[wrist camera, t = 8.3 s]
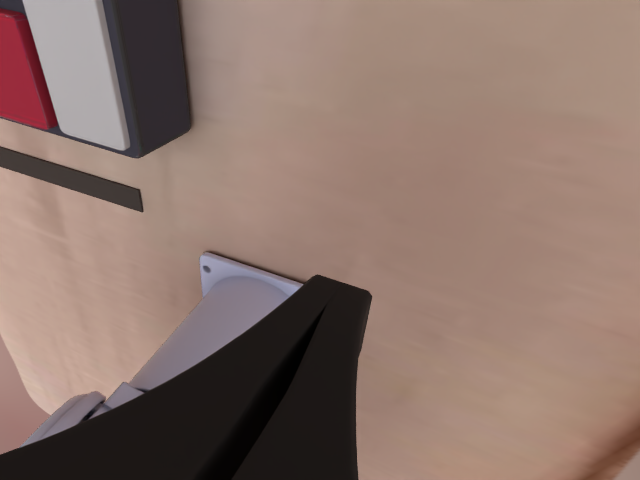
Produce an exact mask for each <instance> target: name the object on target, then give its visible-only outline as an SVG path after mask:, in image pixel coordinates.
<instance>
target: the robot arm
mask: <svg viewBox="0 0 640 480" xmlns="http://www.w3.org/2000/svg"><path fill="white" fill-rule="evenodd" d="M199 262H200V273H201V284H202V294H203V299H202V300H201V301H200V302H199V303H198V305H197V306H196V307H195V308H194V309H193V310H192V311H191V313H190V314H189V315H188V316H187V317H186V318H185V319H184V321H183V322H182V323H181V324H180V325H179V326H178V327H177V329H176V330H175V331H174V332H173V333H172V334H171V335H170V337H169V338H168V339H167V340H166V341H165V342H164V343H163V344H162V346H161V347H160V348H159V349H158V350H157V351H156V352H155V354H154V355H153V356H152V357H151V358H150V359H149V360H148V362H147V363H146V364H145V365H144V366H143V367H142V368H141V370H140V371H139V372H138V373H137V374H136V375H135V376H134V378H133V379H132V380H131V381H130V382H129V383H126V382H123V383H122V384H121V385H120V386H119V387H118V388H117V389H116V390H115V392H114V393H113V394H112V395H111V396H110V397H109V398H108V399H107V401H106V402H105V400H106V397H105V396H104V395H102V394H101V393H100V392H98V391H93V392H91V393H89V394H83V395H77V396H74V397H73V398H71V399H70V400H68V401H67V402H66V403H64V404H63V405H62V406H61V407H60V408H59V409H57V410H56V411H55V412H54V413H53V414H52V415H51V416H50V417H49V418H48V419H47V420H46V421H45V422H44V423H43V424H42V425H41V426H40V427H39V428H38V429H37V430H36V431H35V432H34V433H33V434H32V435H31V436H30V437H29V438H28V439H27V440H26V441H25V442H24V443H23V444H22V445H21V446H20V447H19V448H17V449H14V450H12V451H9V452H6V453H4V454H1V455H0V480H358V467H357V447H356V381H357V367H358V357H359V354H360V351H361V348H362V343H363V338H364V333H365V329H366V324H367V319H368V314H369V310H370V305H371V300H372V295H371V294H370V293H369V291H367V290H364V289H361V288H358V287H354V286H351V285H348V284H345V283H342V282H339V281H336V280H333V279H330V278H327V277H324V276H321V275H318V274H317V275H315V276H313V277H312V278H310V279H309V280H308V281H307V282H306V283H305V284H302V283H299V282H296V281H293V280H290V279H287V278H284V277H281V276H278V275H275V274H272V273H269V272H266V271H263V270H260V269H257V268H254V267H251V266H248V265H245V264H242V263H239V262H236V261H233V260H230V259H227V258H224V257H221V256H218V255H215V254H212V253H208V252H205V253H203V254H202V255H201V256H200V258H199ZM104 402H105V403H104Z"/></svg>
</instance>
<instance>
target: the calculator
mask: <svg viewBox="0 0 640 480" xmlns="http://www.w3.org/2000/svg"><path fill="white" fill-rule="evenodd" d="M0 118H2V119H6V120H9V121H12V122H16V123H19V124H22V125H26V126H29V127H32V128H36V129H39V130H42V131H46V132H49V133H52V134H56V135H59V136H62V137H65V138H69V139H72V140H75V141H79V142H82V143H85V144H89V145H92V146H95V147H99V148H102V149H105V150H109V151H112V152H115V153H119V154H122V155H125V156H129V157H132V158H141V157H143V156H145V155H147V154H148V153H150V152H152V151H154V150H156V149H158V148H160V147H161V146H163V145H165V144H167V143H169V142H170V141H172V140H174V139H176V138H178V137H179V136H181V135H183V134H185V133H186V132H188V131H189V130H190V115H189V106H188V97H187V88H186V79H185V70H184V61H183V51H182V42H181V33H180V24H179V15H178V6H177V0H0Z"/></svg>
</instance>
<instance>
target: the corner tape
mask: <svg viewBox="0 0 640 480" xmlns="http://www.w3.org/2000/svg"><path fill="white" fill-rule="evenodd" d="M0 167H3V168H6V169H9V170H12V171H15V172H19V173H22V174H25V175H28V176H31V177H34V178H37V179H40V180H43V181H46V182H50V183H53V184H56V185H59V186H62V187H65V188H68V189H71V190H74V191H78V192H81V193H84V194H87V195H90V196H93V197H96V198H99V199H102V200H105V201H109V202H112V203H115V204H118V205H121V206H124V207H127V208H130V209H133V210H137V211H140V212H143V208H142V202H141V196H140V191H139V190H138V189H135V188H132V187H129V186H125V185H122V184H119V183H116V182H112V181H109V180H106V179H103V178H99V177H96V176H93V175H90V174H86V173H83V172H80V171H77V170H73V169H70V168H67V167H64V166H60V165H57V164H54V163H51V162H48V161H44V160H41V159H38V158H35V157H31V156H28V155H25V154H22V153H18V152H15V151H12V150H9V149H5V148H2V147H0Z"/></svg>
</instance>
